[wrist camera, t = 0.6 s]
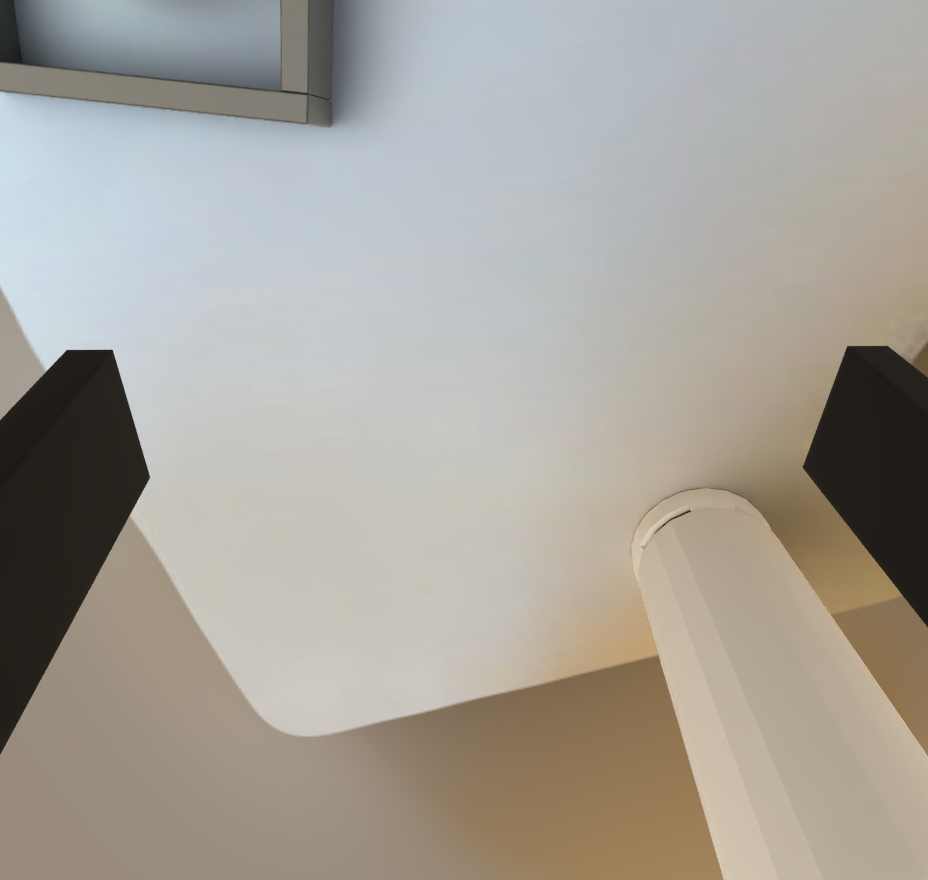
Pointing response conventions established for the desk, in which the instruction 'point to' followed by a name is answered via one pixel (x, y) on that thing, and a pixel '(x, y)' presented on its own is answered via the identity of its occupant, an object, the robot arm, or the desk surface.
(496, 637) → the desk surface
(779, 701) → the bottle
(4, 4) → the grey open square frame
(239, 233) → the desk surface
